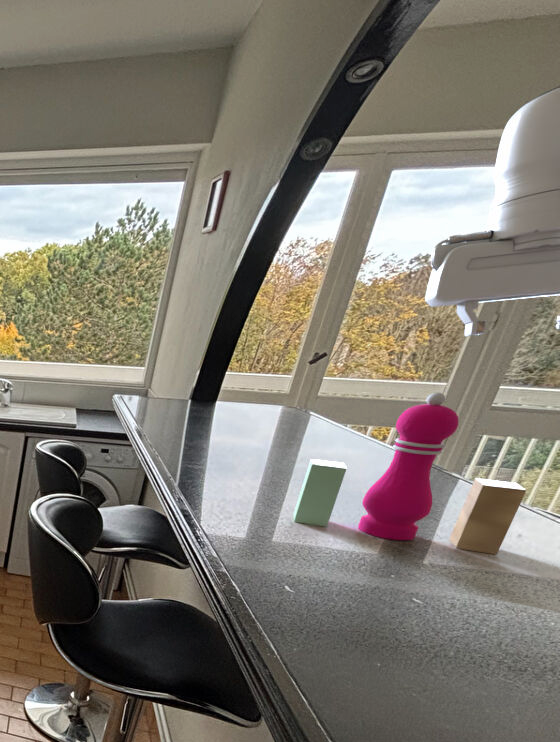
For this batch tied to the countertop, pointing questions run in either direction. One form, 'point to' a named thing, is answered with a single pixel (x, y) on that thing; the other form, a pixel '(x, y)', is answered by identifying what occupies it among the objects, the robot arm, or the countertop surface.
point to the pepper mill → (409, 472)
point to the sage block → (319, 492)
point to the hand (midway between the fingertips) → (519, 331)
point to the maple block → (487, 515)
